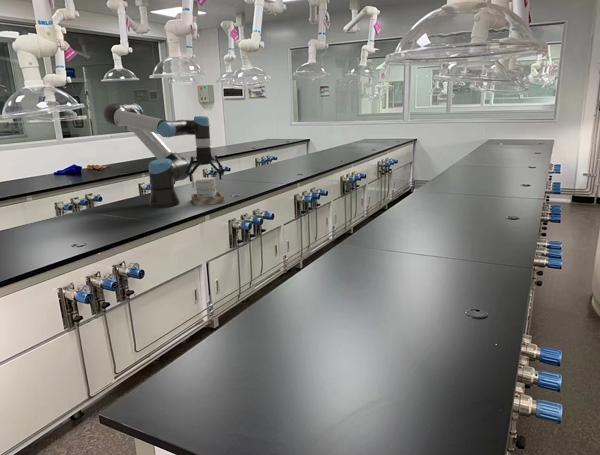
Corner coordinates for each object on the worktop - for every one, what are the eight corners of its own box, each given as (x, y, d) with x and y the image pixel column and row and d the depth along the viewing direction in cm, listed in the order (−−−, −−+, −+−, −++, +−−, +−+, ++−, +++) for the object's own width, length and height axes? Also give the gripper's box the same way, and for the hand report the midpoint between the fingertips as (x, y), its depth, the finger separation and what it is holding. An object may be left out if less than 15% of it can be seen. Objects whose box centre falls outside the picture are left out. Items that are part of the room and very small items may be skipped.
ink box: (217, 198, 245) (215, 177, 241) (213, 201, 237) (211, 179, 233) (201, 198, 245) (199, 177, 242) (197, 201, 237) (195, 180, 234)
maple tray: (194, 205, 233) (194, 199, 232) (191, 200, 245) (191, 194, 244) (224, 202, 237) (224, 196, 237) (220, 197, 250) (219, 191, 249)
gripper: (179, 148, 226) (182, 189, 232) (228, 146, 234) (230, 186, 240) (178, 147, 233) (181, 187, 239) (225, 144, 240) (228, 183, 246)
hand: (206, 186), depth 239 cm, fingers open, 13 cm apart
